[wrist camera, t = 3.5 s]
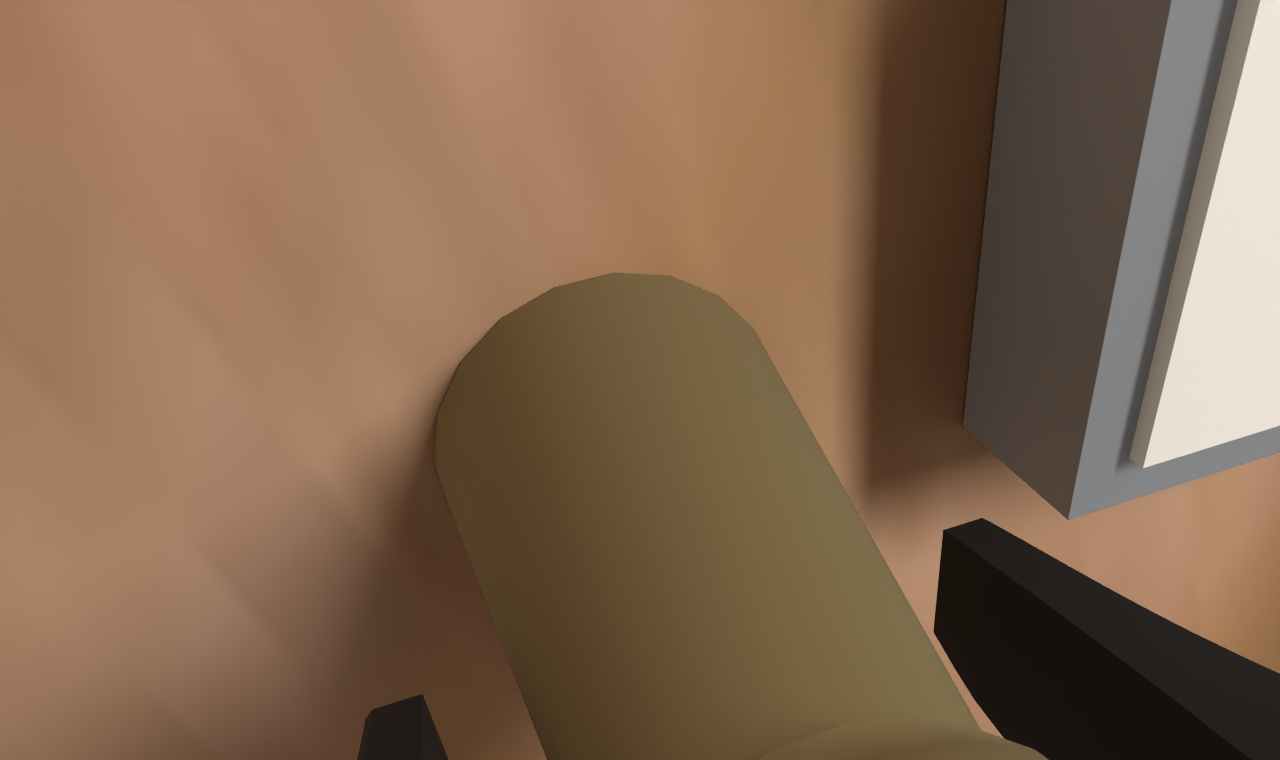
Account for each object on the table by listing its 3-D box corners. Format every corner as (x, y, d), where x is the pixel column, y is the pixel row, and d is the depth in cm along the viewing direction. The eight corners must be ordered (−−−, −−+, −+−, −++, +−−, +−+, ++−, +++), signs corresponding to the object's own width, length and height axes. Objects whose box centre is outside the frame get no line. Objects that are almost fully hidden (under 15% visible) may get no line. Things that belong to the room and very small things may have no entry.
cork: (363, 506, 14) (384, 1698, 5) (569, 200, 12) (1188, 1092, 3) (644, 607, 17) (988, 1456, 8) (838, 372, 15) (1550, 1082, 6)
